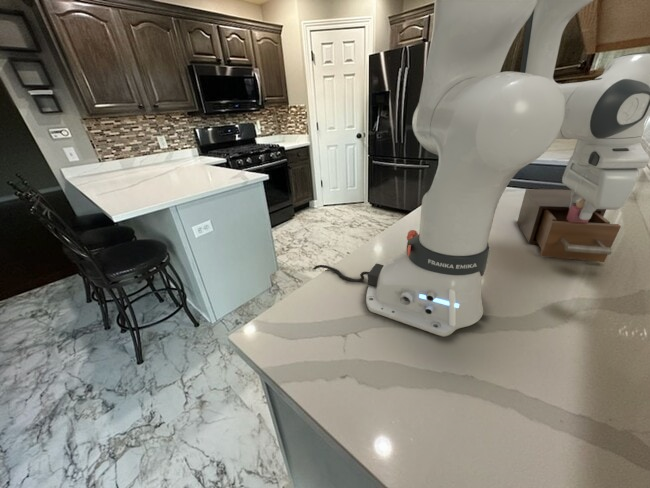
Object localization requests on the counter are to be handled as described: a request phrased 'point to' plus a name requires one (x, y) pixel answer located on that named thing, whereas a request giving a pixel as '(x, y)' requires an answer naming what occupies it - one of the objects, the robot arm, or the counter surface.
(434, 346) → the counter surface
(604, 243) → the drawer
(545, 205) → the cabinet
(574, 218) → the doll
